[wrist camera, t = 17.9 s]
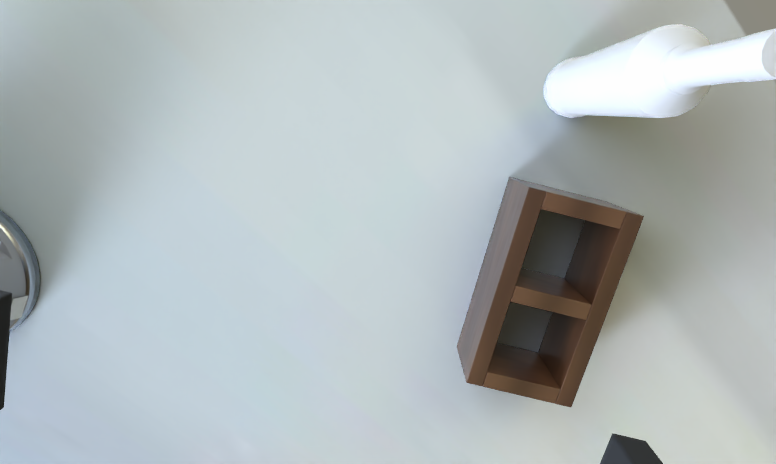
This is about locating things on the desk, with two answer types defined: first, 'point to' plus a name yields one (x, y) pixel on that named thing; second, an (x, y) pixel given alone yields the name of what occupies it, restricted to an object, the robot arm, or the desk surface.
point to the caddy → (545, 293)
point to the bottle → (656, 73)
